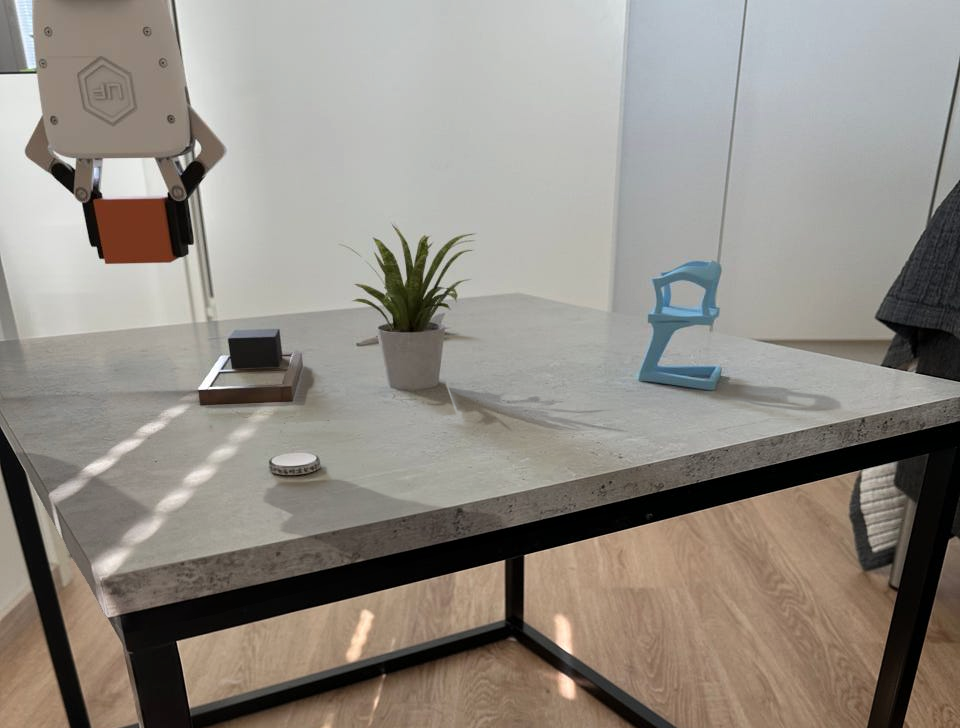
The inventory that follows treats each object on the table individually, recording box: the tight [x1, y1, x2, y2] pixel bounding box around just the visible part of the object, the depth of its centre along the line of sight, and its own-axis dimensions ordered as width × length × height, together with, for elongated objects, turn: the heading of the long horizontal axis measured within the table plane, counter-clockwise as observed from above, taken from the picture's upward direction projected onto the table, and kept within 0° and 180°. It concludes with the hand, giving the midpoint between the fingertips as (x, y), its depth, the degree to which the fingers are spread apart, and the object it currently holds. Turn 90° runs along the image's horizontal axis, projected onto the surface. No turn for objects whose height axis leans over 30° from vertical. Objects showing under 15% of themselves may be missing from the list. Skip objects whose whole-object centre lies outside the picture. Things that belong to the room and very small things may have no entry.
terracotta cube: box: [93, 195, 181, 265], centre depth 72 cm, size 5×5×4 cm
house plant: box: [339, 222, 478, 391], centre depth 93 cm, size 14×14×16 cm
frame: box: [197, 351, 304, 407], centre depth 98 cm, size 9×17×2 cm, turn 6°
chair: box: [637, 259, 723, 391], centre depth 96 cm, size 8×8×12 cm
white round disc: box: [268, 452, 321, 476], centre depth 73 cm, size 4×4×1 cm
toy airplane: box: [355, 312, 456, 347], centre depth 123 cm, size 8×21×2 cm, turn 140°
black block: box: [227, 328, 284, 369], centre depth 100 cm, size 5×5×4 cm
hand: (144, 253), depth 73 cm, fingers closed on terracotta cube, 5 cm apart
